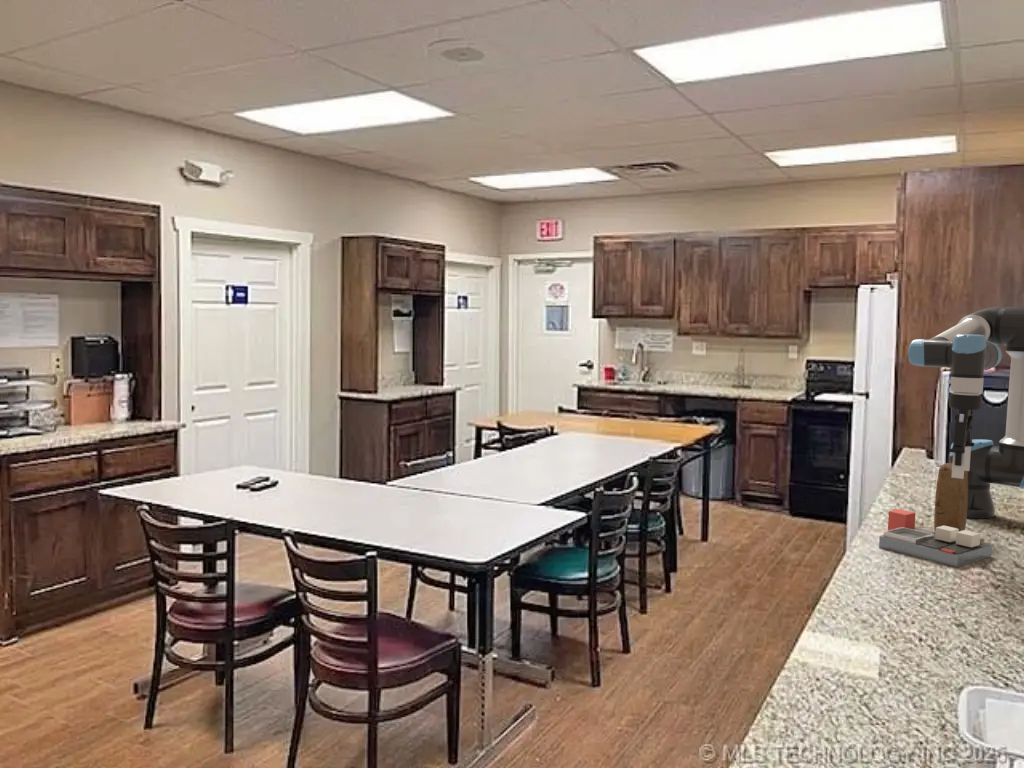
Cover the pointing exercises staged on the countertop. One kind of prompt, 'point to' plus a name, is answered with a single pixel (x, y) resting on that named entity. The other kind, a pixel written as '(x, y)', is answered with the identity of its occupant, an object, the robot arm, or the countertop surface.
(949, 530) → the toggle
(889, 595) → the countertop surface
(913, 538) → the panel
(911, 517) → the coral toy cube
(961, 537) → the toggle
